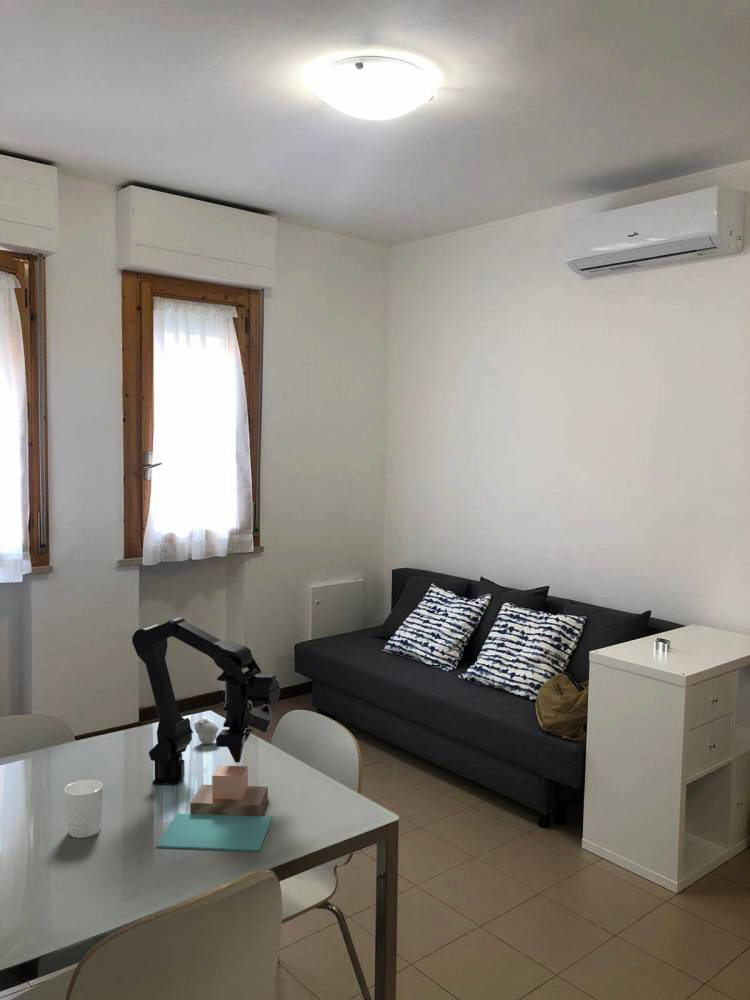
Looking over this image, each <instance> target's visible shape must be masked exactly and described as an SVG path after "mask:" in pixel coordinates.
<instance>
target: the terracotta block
mask: <svg viewBox="0 0 750 1000" xmlns="http://www.w3.org/2000/svg"><path fill="white" fill-rule="evenodd" d="M248 768H249V766H248V765H218V766H217V767H216V769H215V770H214V772H213V774H212V775H211V785H212V799H235V800H242V799H243V797H244V795H245V793H246V791H247V789H248V786H249V775H248V772H249V769H248Z"/></svg>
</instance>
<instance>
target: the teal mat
mask: <svg viewBox="0 0 750 1000" xmlns="http://www.w3.org/2000/svg"><path fill="white" fill-rule="evenodd" d="M272 821H273V816H264V815H261V816H237V815H209V814H190V813H179V812H178V813H177V814H175V817H174V818H173V820H171V822H170V823H169V825H168V827H167V828H166V830H165V832H164V833H163V834H162V836H161V837H160V839H159V841H158V843H156V845H155V846H156V848H162V849H183V848H187V850H188V849H189V850H209V849H212V850H213V849H214V851H235V850H238V852H239V851H241V852H243V851H244V852H260V851H259V850H261V848H262V846H263V843H264V841H265V838H266V836H267V833H268V831H269V828H270V826H271V824H272ZM212 850H211V851H212Z"/></svg>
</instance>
